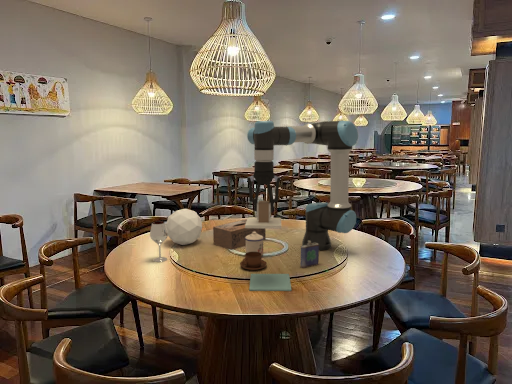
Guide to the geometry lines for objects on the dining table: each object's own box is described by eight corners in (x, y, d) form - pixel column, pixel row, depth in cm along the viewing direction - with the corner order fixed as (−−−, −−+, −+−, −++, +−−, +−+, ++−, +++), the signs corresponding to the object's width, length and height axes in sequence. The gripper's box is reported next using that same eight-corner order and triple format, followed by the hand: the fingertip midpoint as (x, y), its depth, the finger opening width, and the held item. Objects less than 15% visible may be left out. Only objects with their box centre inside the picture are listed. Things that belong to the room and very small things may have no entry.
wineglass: (172, 257, 181) (170, 221, 178) (162, 263, 174) (161, 225, 171) (157, 256, 184) (156, 220, 181) (147, 261, 176) (145, 224, 173)
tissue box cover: (247, 235, 221) (247, 218, 220) (265, 240, 211) (265, 222, 210) (213, 244, 203) (213, 226, 202) (231, 250, 193) (231, 231, 192)
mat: (288, 275, 158) (288, 273, 158) (291, 290, 142) (291, 289, 142) (250, 275, 159) (250, 273, 159) (249, 290, 143) (249, 289, 143)
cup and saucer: (257, 274, 160) (257, 260, 159) (234, 269, 166) (234, 255, 166) (271, 265, 170) (271, 252, 169) (249, 261, 177) (249, 248, 176)
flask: (302, 268, 166) (303, 243, 164) (298, 266, 169) (298, 241, 167) (320, 264, 171) (320, 239, 169) (315, 262, 174) (316, 238, 172)
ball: (192, 252, 210) (212, 223, 213) (182, 250, 191) (204, 218, 193) (165, 234, 214) (185, 205, 217) (153, 230, 195) (175, 198, 197)
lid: (280, 220, 158) (281, 198, 157) (281, 228, 144) (281, 205, 143) (247, 220, 159) (247, 198, 158) (245, 228, 145) (244, 204, 144)
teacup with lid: (261, 258, 180) (261, 234, 178) (243, 257, 182) (242, 233, 180) (266, 250, 191) (266, 228, 189) (249, 249, 193) (249, 227, 191)
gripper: (285, 160, 151) (284, 217, 154) (243, 160, 152) (243, 216, 155) (286, 161, 143) (285, 221, 147) (241, 161, 144) (241, 220, 148)
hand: (263, 218), depth 151 cm, fingers closed on lid, 4 cm apart
